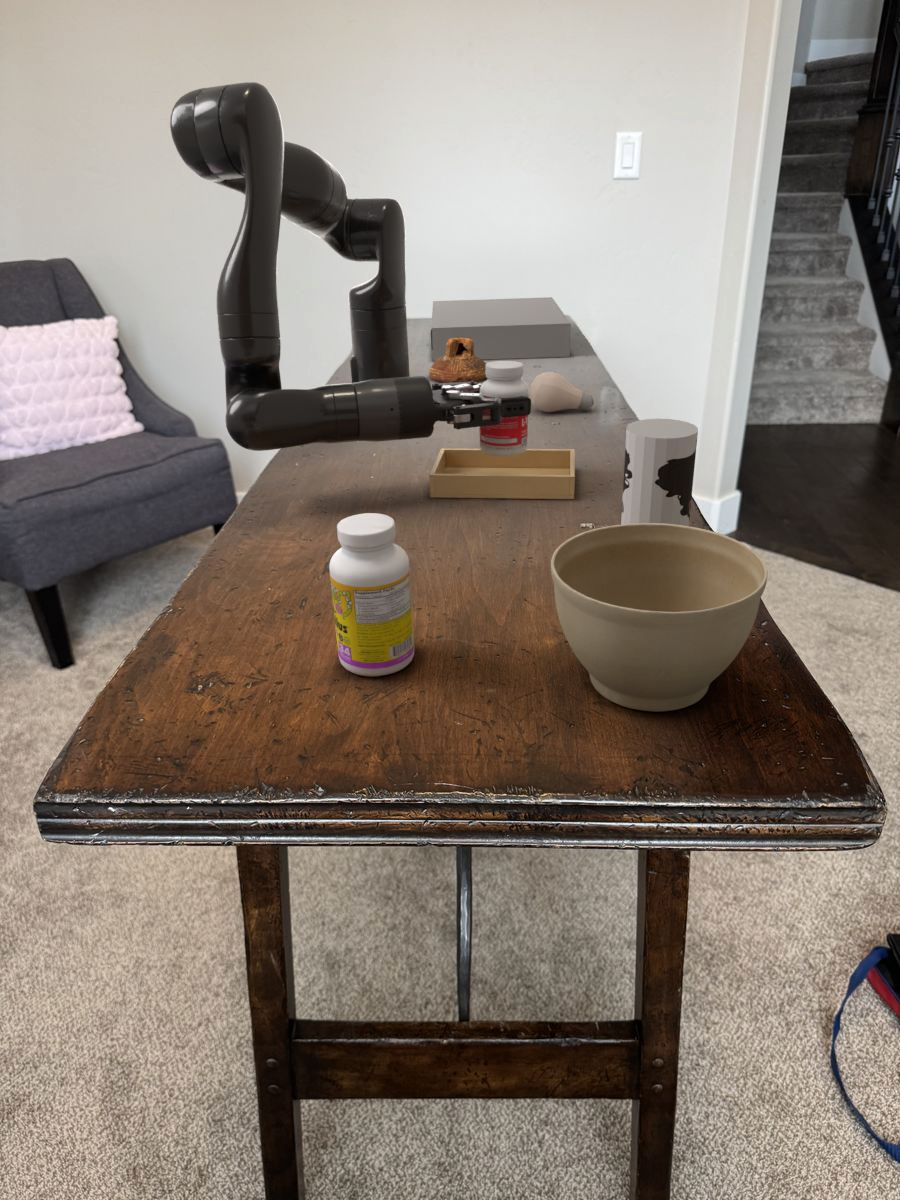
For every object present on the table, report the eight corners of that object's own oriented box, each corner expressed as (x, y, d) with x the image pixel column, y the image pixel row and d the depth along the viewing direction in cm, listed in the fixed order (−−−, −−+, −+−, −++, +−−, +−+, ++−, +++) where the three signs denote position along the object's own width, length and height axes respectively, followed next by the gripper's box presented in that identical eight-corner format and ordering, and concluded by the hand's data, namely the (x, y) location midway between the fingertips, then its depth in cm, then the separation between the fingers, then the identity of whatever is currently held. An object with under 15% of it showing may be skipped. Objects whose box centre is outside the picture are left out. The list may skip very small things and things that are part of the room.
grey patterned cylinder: (698, 572, 91) (713, 429, 84) (649, 589, 88) (661, 442, 81) (652, 551, 96) (662, 414, 90) (604, 566, 93) (611, 426, 86)
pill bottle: (530, 457, 112) (532, 368, 107) (482, 458, 112) (481, 370, 107) (523, 442, 118) (525, 358, 113) (477, 444, 118) (477, 359, 113)
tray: (430, 497, 113) (429, 475, 112) (441, 469, 123) (440, 448, 122) (574, 499, 111) (574, 476, 110) (574, 470, 121) (574, 449, 120)
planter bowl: (542, 635, 81) (544, 523, 76) (722, 633, 80) (736, 520, 75) (555, 741, 66) (559, 611, 61) (775, 739, 65) (797, 608, 61)
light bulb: (587, 430, 147) (524, 413, 146) (586, 412, 152) (524, 396, 151) (601, 394, 143) (535, 377, 142) (599, 377, 148) (535, 360, 147)
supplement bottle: (340, 643, 80) (326, 510, 75) (413, 638, 81) (405, 505, 75) (337, 682, 74) (323, 541, 69) (416, 677, 75) (408, 536, 69)
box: (569, 356, 186) (570, 322, 183) (432, 361, 186) (430, 326, 183) (551, 327, 217) (551, 297, 214) (433, 331, 217) (432, 301, 214)
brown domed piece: (493, 370, 177) (492, 332, 174) (484, 384, 166) (483, 345, 163) (435, 370, 179) (434, 333, 176) (423, 384, 168) (421, 345, 165)
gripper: (400, 392, 101) (540, 381, 105) (381, 366, 114) (506, 358, 117) (403, 455, 105) (539, 443, 108) (384, 424, 117) (506, 414, 121)
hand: (521, 399), depth 113 cm, fingers closed on pill bottle, 6 cm apart
